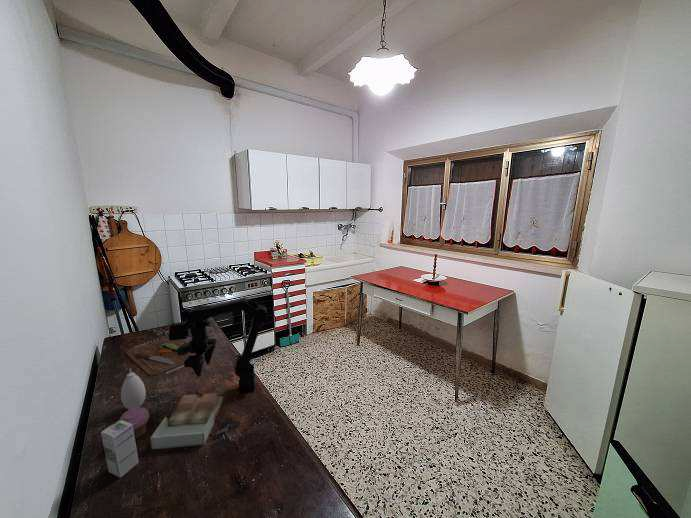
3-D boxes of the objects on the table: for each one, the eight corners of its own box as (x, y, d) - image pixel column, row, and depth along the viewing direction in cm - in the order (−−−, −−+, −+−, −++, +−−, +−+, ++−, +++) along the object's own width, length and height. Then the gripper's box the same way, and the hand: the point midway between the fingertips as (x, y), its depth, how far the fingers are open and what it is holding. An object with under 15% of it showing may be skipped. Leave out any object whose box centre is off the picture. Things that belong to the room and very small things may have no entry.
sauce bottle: (145, 398, 116) (140, 360, 113) (148, 408, 111) (143, 368, 108) (122, 407, 111) (116, 367, 108) (124, 418, 105) (118, 376, 102)
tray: (214, 423, 103) (213, 413, 102) (204, 444, 93) (203, 433, 93) (166, 427, 101) (165, 417, 100) (151, 449, 91) (150, 438, 91)
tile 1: (197, 401, 111) (196, 394, 111) (192, 409, 106) (191, 402, 106) (184, 402, 111) (183, 395, 110) (178, 410, 106) (177, 403, 105)
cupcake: (127, 450, 91) (123, 424, 90) (115, 439, 95) (111, 414, 94) (155, 431, 99) (152, 407, 97) (143, 422, 103) (140, 399, 101)
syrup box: (139, 462, 87) (133, 422, 84) (119, 479, 81) (112, 437, 79) (127, 457, 89) (121, 418, 86) (106, 473, 83) (99, 432, 81)
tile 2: (217, 399, 112) (217, 393, 112) (213, 408, 107) (212, 401, 107) (205, 400, 112) (204, 393, 111) (200, 409, 107) (199, 402, 106)
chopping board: (208, 357, 151) (208, 351, 151) (153, 380, 130) (152, 374, 129) (173, 335, 177) (173, 331, 177) (122, 352, 156) (122, 347, 155)
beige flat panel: (223, 401, 115) (222, 396, 114) (213, 422, 103) (212, 416, 103) (183, 404, 113) (182, 399, 113) (168, 426, 101) (167, 420, 101)
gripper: (189, 328, 122) (193, 359, 125) (167, 348, 104) (172, 385, 106) (215, 326, 123) (218, 357, 126) (197, 346, 105) (202, 382, 108)
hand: (203, 369), depth 116 cm, fingers open, 9 cm apart
